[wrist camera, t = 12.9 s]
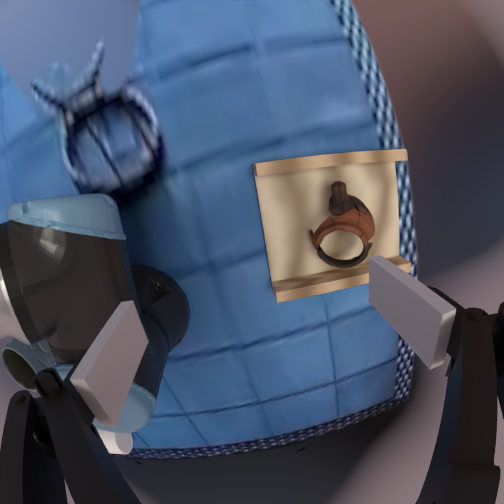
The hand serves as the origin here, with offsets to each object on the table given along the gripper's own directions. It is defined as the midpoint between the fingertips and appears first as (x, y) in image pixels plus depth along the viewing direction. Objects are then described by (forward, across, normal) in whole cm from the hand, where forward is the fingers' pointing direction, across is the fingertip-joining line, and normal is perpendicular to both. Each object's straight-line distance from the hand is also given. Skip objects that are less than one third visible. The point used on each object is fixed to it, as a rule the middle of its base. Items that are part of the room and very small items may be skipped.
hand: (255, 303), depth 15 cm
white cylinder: (+27, -41, -42) cm, 65 cm away
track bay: (+27, +14, -2) cm, 30 cm away
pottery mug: (+26, +14, -2) cm, 29 cm away
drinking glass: (+27, -44, -16) cm, 54 cm away
